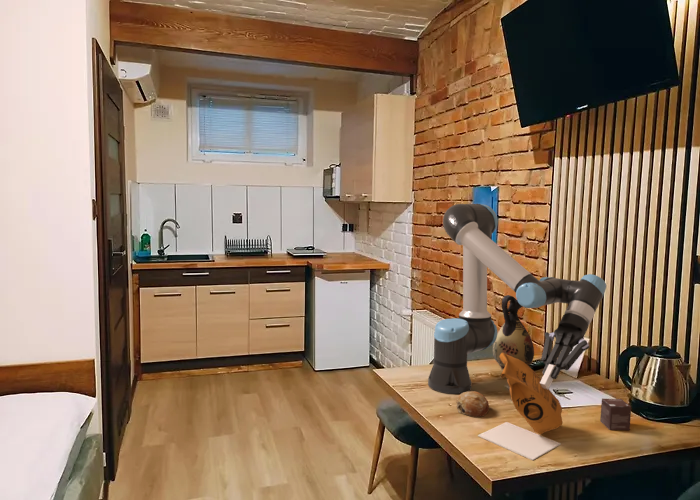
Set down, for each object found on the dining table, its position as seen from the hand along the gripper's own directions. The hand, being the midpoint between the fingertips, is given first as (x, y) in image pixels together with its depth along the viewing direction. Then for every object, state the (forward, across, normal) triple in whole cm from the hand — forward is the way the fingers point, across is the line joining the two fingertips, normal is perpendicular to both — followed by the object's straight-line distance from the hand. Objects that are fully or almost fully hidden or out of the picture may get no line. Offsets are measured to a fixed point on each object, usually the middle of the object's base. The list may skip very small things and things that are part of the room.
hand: (543, 386), depth 143 cm
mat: (+15, +3, -6) cm, 16 cm away
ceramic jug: (-20, +38, -40) cm, 58 cm away
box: (-7, -10, -28) cm, 30 cm away
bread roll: (+11, +24, -10) cm, 28 cm away
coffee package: (+4, +1, -12) cm, 12 cm away
